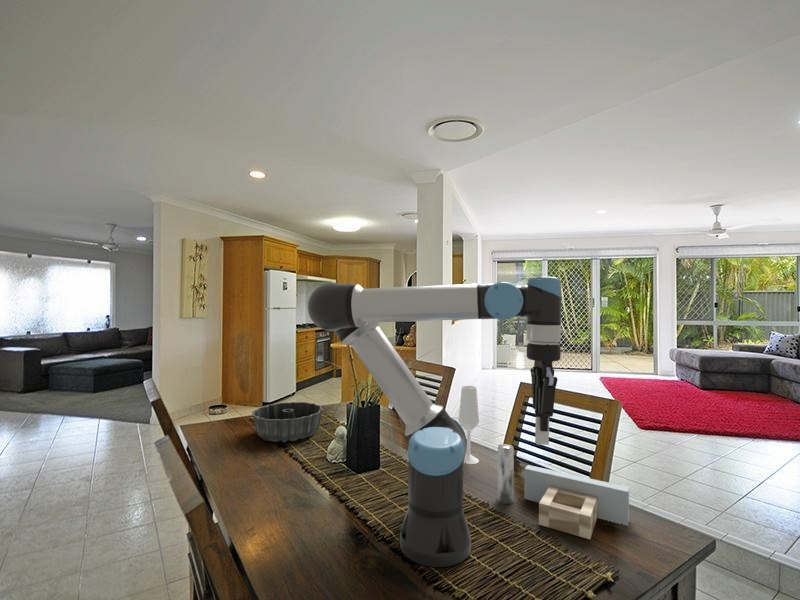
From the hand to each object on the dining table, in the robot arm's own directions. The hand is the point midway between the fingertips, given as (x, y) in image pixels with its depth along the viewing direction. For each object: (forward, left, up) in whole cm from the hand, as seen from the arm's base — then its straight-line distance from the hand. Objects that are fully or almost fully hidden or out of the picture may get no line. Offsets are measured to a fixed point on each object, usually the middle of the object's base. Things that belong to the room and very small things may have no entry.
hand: (541, 443), depth 96 cm
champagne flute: (+27, +30, -19) cm, 45 cm away
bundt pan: (+11, +98, -19) cm, 100 cm away
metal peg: (+7, +11, -19) cm, 23 cm away
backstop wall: (+12, -5, -19) cm, 23 cm away
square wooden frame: (+5, -5, -19) cm, 20 cm away
